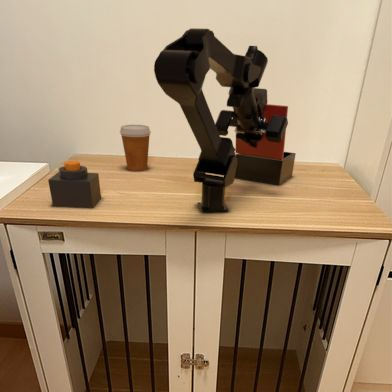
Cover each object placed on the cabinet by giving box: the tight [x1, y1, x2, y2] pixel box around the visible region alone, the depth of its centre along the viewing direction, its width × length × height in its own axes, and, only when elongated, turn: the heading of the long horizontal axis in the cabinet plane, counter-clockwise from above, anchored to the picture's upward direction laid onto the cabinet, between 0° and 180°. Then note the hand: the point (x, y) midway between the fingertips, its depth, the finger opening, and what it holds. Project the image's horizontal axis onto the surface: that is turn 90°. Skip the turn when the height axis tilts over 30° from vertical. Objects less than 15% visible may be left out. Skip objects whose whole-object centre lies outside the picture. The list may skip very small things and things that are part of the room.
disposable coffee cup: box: [119, 124, 152, 172], centre depth 129 cm, size 10×10×12 cm
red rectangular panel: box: [235, 103, 289, 159], centre depth 114 cm, size 13×15×1 cm
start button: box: [63, 160, 81, 171], centre depth 98 cm, size 4×4×2 cm
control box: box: [47, 165, 102, 209], centre depth 101 cm, size 10×8×8 cm
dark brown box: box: [234, 151, 296, 186], centre depth 126 cm, size 13×15×7 cm
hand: (256, 146), depth 115 cm, fingers closed
